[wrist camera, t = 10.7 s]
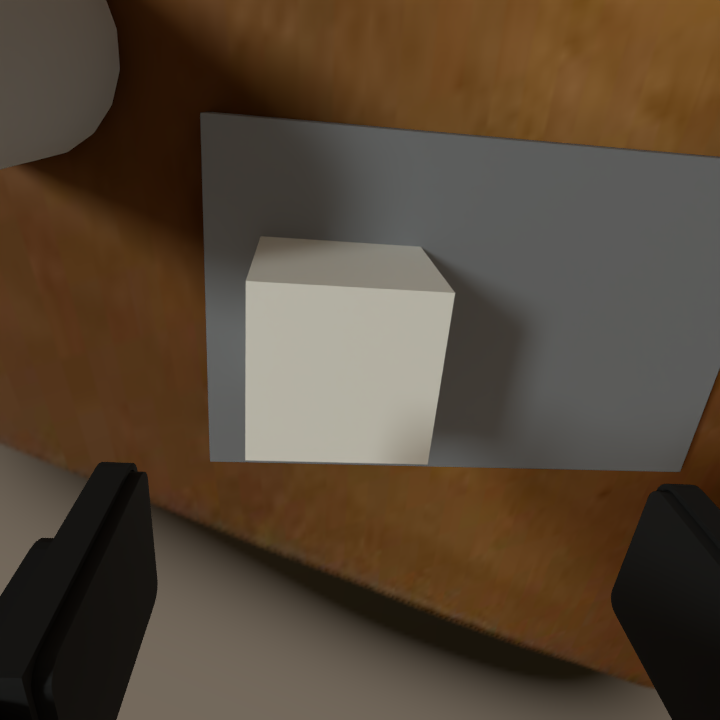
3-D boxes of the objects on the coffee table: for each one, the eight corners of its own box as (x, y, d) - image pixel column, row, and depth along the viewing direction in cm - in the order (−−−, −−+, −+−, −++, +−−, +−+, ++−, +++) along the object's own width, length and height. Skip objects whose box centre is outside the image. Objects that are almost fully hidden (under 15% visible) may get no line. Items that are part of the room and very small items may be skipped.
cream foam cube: (420, 246, 22) (455, 292, 17) (402, 386, 24) (427, 464, 19) (260, 236, 21) (245, 281, 16) (258, 381, 23) (245, 460, 18)
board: (768, 161, 23) (797, 165, 22) (662, 453, 29) (680, 472, 27) (207, 111, 20) (200, 112, 19) (215, 442, 26) (210, 461, 25)
